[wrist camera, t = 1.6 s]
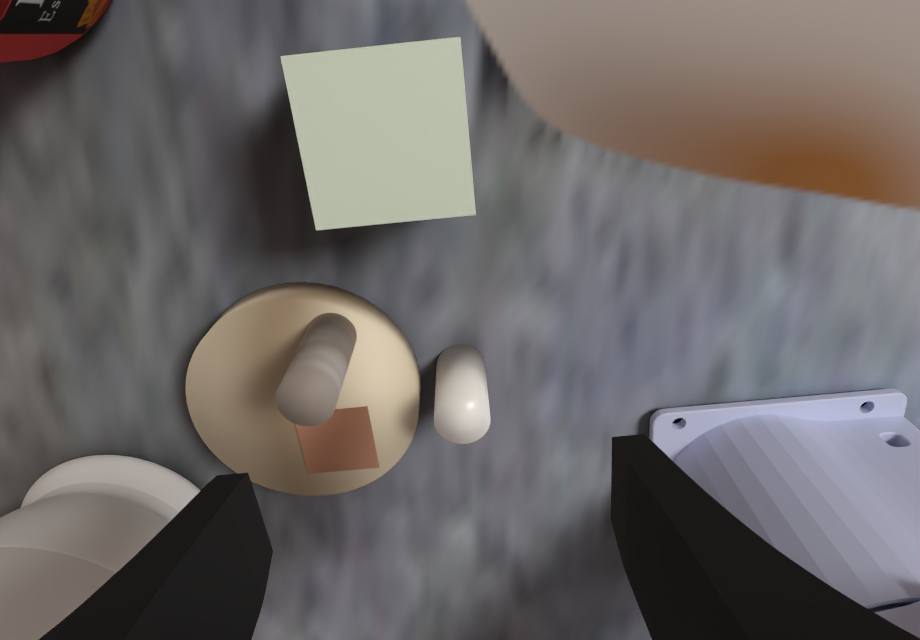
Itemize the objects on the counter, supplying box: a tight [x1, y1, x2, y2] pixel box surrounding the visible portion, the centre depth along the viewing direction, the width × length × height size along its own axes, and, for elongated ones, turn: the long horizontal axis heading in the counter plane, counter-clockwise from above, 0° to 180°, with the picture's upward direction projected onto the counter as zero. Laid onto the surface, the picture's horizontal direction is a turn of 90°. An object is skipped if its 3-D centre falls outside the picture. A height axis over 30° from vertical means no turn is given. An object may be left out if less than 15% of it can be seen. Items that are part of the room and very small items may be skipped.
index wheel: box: [185, 282, 421, 496], centre depth 20 cm, size 8×8×6 cm
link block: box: [280, 37, 476, 230], centre depth 16 cm, size 4×4×5 cm
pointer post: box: [434, 345, 490, 444], centre depth 21 cm, size 2×2×4 cm
